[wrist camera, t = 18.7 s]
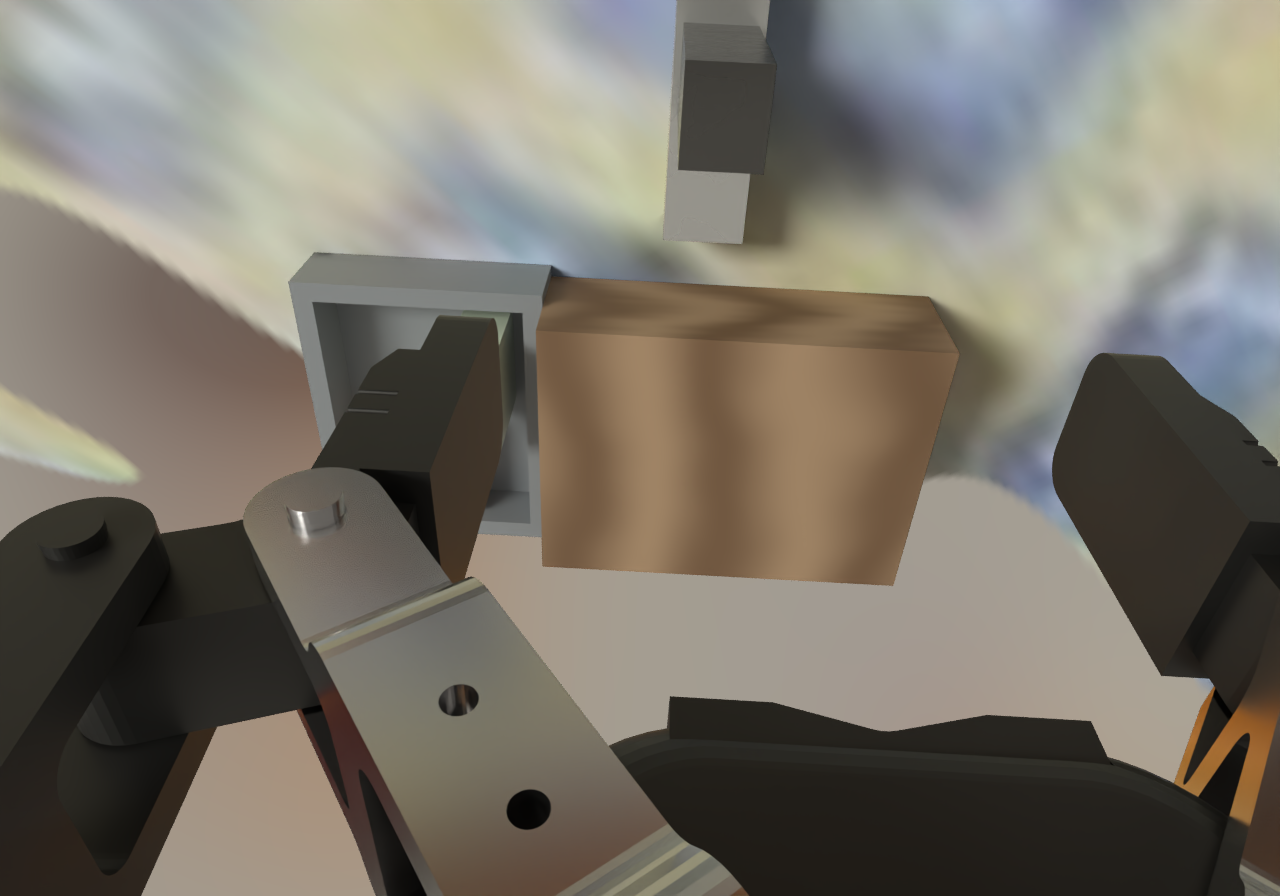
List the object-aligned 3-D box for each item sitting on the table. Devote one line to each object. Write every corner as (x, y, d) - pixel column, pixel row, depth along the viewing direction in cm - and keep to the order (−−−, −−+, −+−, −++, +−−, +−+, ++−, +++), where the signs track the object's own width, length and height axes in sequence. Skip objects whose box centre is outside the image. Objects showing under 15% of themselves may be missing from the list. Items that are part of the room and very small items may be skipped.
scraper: (776, -141, 28) (811, -135, 21) (737, 216, 35) (754, 314, 28) (684, -145, 28) (687, -141, 21) (663, 212, 35) (660, 309, 28)
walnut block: (928, 296, 37) (960, 353, 33) (872, 515, 44) (892, 585, 40) (551, 276, 37) (535, 330, 33) (554, 498, 44) (542, 566, 40)
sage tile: (494, 358, 33) (442, 355, 33) (500, 454, 36) (451, 451, 36) (512, 307, 37) (466, 304, 37) (516, 396, 40) (472, 394, 40)
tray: (550, 265, 37) (542, 296, 34) (554, 498, 44) (547, 537, 41) (314, 252, 37) (288, 282, 34) (356, 487, 44) (337, 526, 41)
